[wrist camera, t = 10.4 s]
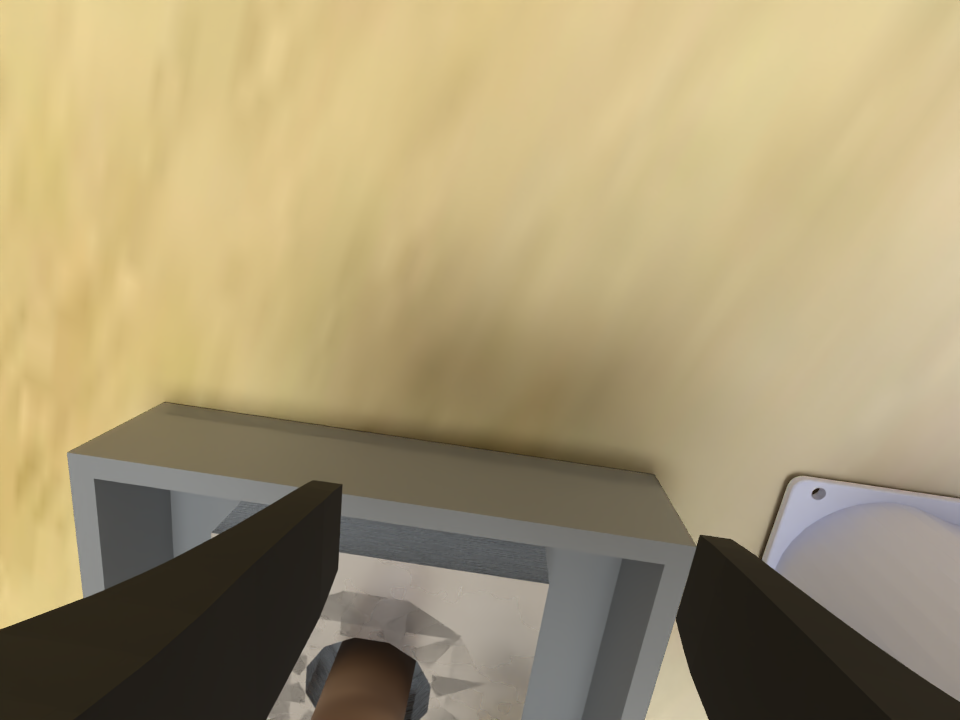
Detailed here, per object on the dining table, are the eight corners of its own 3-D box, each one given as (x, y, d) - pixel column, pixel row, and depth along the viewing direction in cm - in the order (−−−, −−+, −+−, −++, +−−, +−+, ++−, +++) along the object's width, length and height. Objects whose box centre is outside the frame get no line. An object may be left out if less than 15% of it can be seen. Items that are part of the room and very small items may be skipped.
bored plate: (543, 539, 19) (549, 584, 17) (500, 758, 23) (499, 822, 20) (247, 494, 19) (210, 532, 17) (247, 718, 23) (216, 777, 20)
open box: (654, 474, 19) (696, 547, 15) (571, 793, 24) (584, 917, 20) (164, 402, 20) (66, 452, 15) (180, 731, 25) (110, 839, 20)
